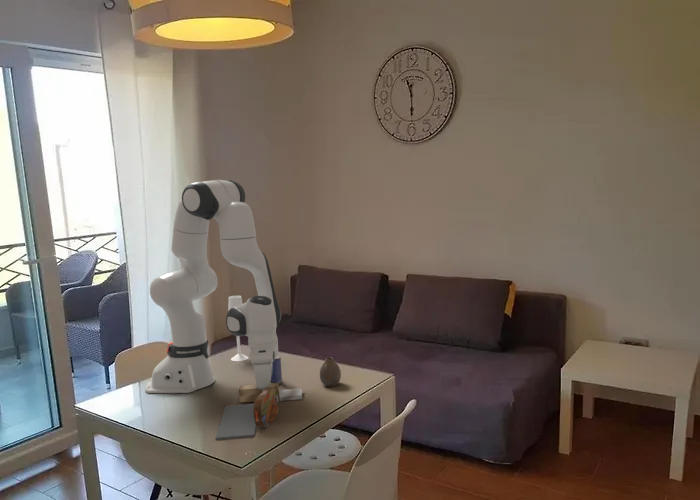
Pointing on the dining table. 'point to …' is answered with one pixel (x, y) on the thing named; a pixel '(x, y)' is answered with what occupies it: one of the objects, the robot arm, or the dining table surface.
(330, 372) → the vase
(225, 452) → the dining table surface
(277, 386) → the turner
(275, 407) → the tin
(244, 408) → the mat
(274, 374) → the flask
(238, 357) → the champagne flute
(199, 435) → the dining table surface
